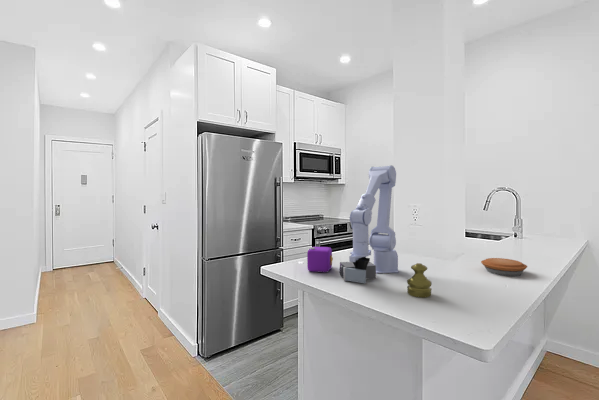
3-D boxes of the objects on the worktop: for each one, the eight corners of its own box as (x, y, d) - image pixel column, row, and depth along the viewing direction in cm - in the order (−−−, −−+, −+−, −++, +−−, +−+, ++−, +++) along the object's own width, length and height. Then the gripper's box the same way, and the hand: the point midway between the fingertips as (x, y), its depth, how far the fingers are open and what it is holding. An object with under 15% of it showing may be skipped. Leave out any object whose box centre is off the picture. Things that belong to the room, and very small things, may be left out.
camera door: (366, 282, 109) (366, 269, 109) (365, 283, 108) (364, 270, 108) (344, 279, 114) (344, 266, 113) (343, 280, 112) (342, 267, 112)
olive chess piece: (429, 299, 92) (429, 267, 92) (404, 295, 96) (404, 264, 96) (433, 292, 99) (433, 262, 98) (409, 289, 102) (409, 260, 102)
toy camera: (332, 265, 137) (332, 243, 137) (333, 273, 123) (332, 249, 123) (309, 265, 138) (308, 243, 138) (307, 273, 124) (306, 249, 124)
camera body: (368, 272, 123) (368, 259, 123) (375, 278, 115) (375, 263, 115) (338, 274, 121) (338, 260, 121) (343, 280, 113) (343, 265, 113)
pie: (527, 280, 111) (527, 267, 111) (478, 273, 120) (479, 261, 120) (527, 271, 123) (527, 259, 123) (483, 265, 132) (483, 254, 132)
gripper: (359, 237, 120) (359, 271, 120) (341, 243, 108) (342, 280, 109) (376, 239, 115) (376, 274, 116) (359, 245, 104) (359, 283, 104)
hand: (360, 277), depth 112 cm, fingers closed
